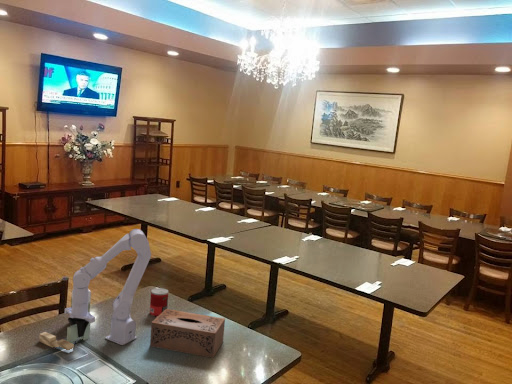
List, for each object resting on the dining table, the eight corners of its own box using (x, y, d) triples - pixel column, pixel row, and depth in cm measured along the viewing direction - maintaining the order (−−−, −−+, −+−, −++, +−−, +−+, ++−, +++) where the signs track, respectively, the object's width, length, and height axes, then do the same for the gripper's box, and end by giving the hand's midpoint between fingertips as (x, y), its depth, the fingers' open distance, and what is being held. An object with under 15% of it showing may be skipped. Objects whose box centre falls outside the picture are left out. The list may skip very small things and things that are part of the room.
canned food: (164, 317, 191) (166, 294, 190) (147, 316, 191) (149, 292, 190) (168, 311, 199) (170, 288, 198) (151, 309, 199) (153, 287, 198)
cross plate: (86, 336, 167) (86, 319, 167) (89, 337, 166) (90, 321, 166) (66, 345, 159) (67, 327, 159) (70, 346, 159) (71, 328, 158)
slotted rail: (73, 351, 155) (73, 344, 155) (67, 354, 153) (68, 346, 153) (45, 339, 162) (45, 331, 162) (39, 341, 160) (39, 333, 160)
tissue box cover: (149, 346, 164) (151, 322, 163) (164, 331, 179) (166, 308, 178) (213, 358, 160) (215, 333, 159) (223, 341, 174) (225, 318, 173)
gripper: (58, 300, 161) (56, 333, 162) (84, 309, 154) (83, 344, 156) (73, 294, 167) (72, 327, 169) (100, 304, 161) (98, 337, 162)
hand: (78, 335), depth 163 cm, fingers closed on cross plate, 2 cm apart
